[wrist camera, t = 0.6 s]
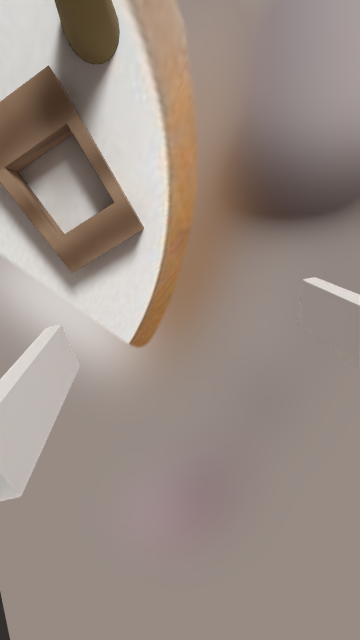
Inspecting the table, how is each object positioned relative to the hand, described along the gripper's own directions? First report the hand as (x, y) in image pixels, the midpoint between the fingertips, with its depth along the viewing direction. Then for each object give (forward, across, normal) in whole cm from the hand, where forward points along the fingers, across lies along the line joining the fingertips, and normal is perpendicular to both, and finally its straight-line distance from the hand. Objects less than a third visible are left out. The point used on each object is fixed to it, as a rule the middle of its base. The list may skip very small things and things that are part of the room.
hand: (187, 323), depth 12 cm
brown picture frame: (+26, -11, +10) cm, 30 cm away
